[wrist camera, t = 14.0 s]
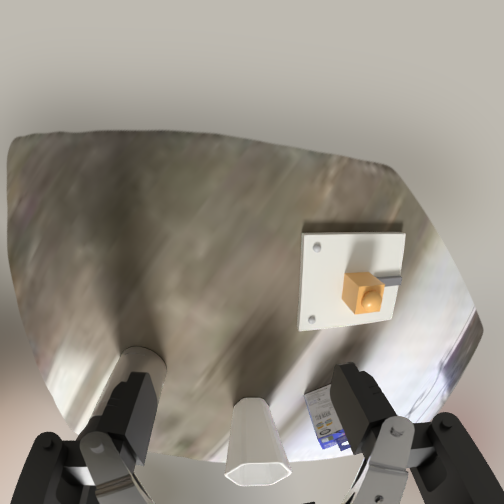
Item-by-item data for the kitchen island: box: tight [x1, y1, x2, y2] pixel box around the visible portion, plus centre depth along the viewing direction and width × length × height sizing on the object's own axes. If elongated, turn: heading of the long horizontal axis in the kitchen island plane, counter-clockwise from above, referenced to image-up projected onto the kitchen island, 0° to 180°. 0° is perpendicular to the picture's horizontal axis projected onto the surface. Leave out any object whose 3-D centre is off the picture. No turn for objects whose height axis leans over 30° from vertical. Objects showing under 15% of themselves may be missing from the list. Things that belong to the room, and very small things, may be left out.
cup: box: [225, 398, 292, 486], centre depth 41 cm, size 11×10×17 cm
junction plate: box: [297, 232, 406, 331], centre depth 40 cm, size 16×18×6 cm
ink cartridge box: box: [304, 384, 350, 451], centre depth 43 cm, size 10×6×14 cm, turn 112°
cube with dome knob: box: [341, 272, 385, 315], centre depth 38 cm, size 4×4×6 cm
